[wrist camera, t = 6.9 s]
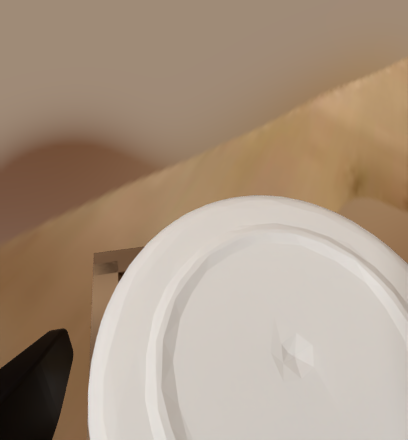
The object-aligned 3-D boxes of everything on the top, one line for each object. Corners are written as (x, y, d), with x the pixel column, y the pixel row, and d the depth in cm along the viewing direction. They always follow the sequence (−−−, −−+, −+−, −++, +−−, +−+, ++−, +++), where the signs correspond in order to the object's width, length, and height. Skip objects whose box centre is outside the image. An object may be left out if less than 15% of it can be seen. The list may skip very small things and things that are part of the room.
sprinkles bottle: (165, 401, 13) (-12, 828, 1) (168, 312, 15) (110, 179, 4) (248, 397, 14) (681, 715, 2) (240, 310, 16) (407, 184, 4)
